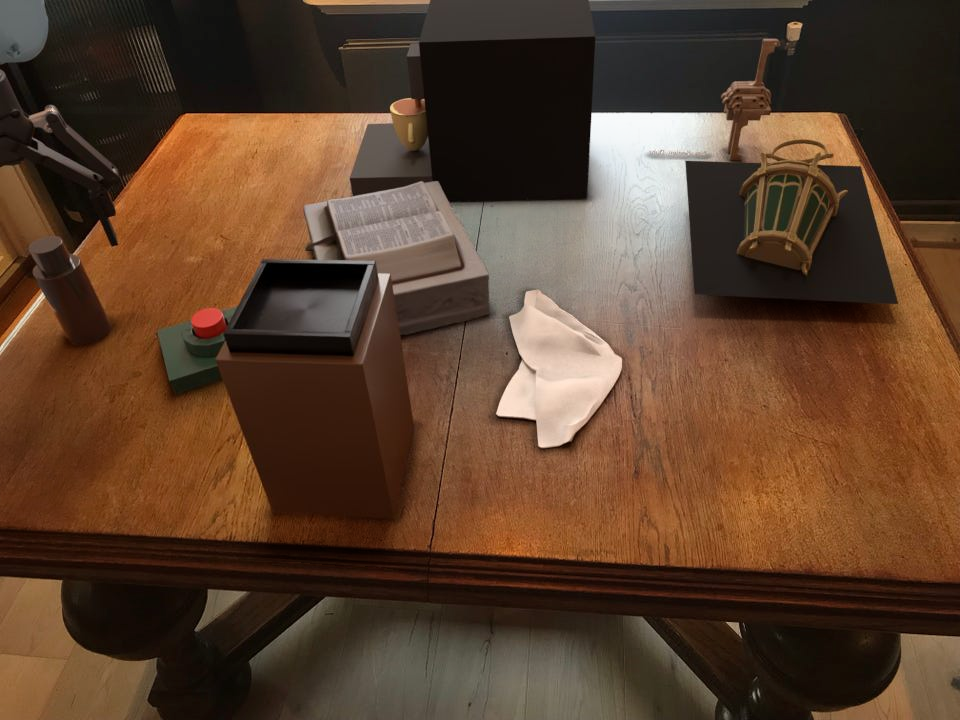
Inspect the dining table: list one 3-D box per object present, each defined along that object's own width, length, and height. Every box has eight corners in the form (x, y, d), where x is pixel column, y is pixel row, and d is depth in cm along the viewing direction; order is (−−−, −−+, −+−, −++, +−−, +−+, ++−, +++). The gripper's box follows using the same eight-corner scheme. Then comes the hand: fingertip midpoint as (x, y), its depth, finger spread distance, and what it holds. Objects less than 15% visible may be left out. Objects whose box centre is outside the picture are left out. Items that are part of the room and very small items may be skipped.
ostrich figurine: (754, 145, 124) (778, 31, 112) (761, 166, 119) (786, 48, 107) (647, 144, 126) (659, 32, 114) (650, 165, 121) (662, 49, 109)
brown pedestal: (272, 512, 75) (207, 340, 60) (304, 421, 84) (255, 252, 69) (394, 519, 73) (358, 345, 59) (414, 426, 82) (387, 254, 67)
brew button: (198, 342, 89) (193, 331, 87) (192, 325, 91) (188, 313, 90) (229, 333, 90) (225, 321, 88) (223, 315, 92) (219, 304, 91)
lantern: (679, 329, 98) (674, 160, 113) (863, 348, 97) (832, 176, 113) (708, 261, 86) (698, 84, 102) (919, 282, 85) (875, 101, 101)
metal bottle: (68, 350, 94) (21, 262, 86) (66, 326, 98) (20, 239, 89) (113, 336, 96) (70, 249, 87) (109, 313, 99) (68, 227, 91)
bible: (300, 354, 92) (281, 287, 85) (311, 231, 112) (297, 169, 105) (494, 333, 93) (491, 266, 86) (471, 215, 113) (468, 153, 106)
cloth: (621, 454, 78) (623, 439, 76) (486, 444, 80) (485, 429, 78) (622, 296, 97) (623, 282, 95) (513, 292, 99) (512, 277, 97)
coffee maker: (371, 148, 130) (348, 0, 114) (580, 143, 128) (587, -9, 112) (354, 203, 117) (325, 45, 101) (587, 199, 115) (595, 36, 99)
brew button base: (175, 394, 88) (163, 369, 85) (162, 343, 94) (151, 318, 92) (278, 361, 91) (270, 335, 88) (259, 314, 98) (251, 289, 95)
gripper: (91, 38, 81) (158, 212, 96) (-181, 91, 74) (-64, 270, 89) (97, 62, 76) (167, 242, 91) (-194, 122, 69) (-68, 307, 83)
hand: (53, 257), depth 90 cm, fingers open, 13 cm apart
